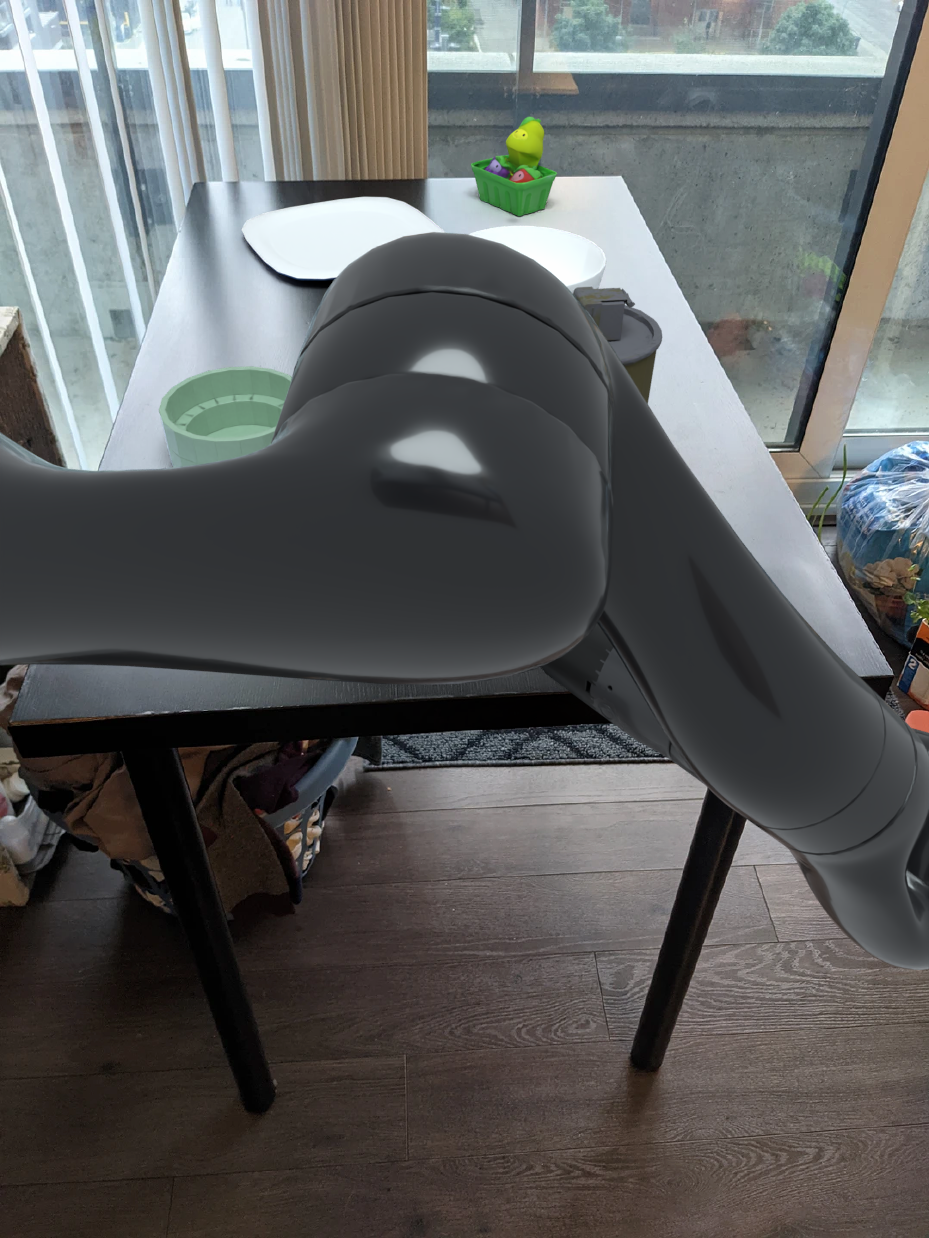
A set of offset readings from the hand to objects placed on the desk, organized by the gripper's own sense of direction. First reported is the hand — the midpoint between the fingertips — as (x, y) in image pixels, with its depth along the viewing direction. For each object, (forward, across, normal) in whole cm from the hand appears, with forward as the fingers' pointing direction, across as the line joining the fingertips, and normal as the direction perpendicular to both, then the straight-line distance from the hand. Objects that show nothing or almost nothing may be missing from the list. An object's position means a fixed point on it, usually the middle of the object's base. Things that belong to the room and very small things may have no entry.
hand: (445, 528), depth 61 cm
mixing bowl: (+34, -5, +13) cm, 37 cm away
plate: (+68, -44, +14) cm, 82 cm away
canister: (+7, -22, +14) cm, 27 cm away
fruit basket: (+65, -72, +14) cm, 98 cm away
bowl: (+38, -47, +14) cm, 61 cm away
